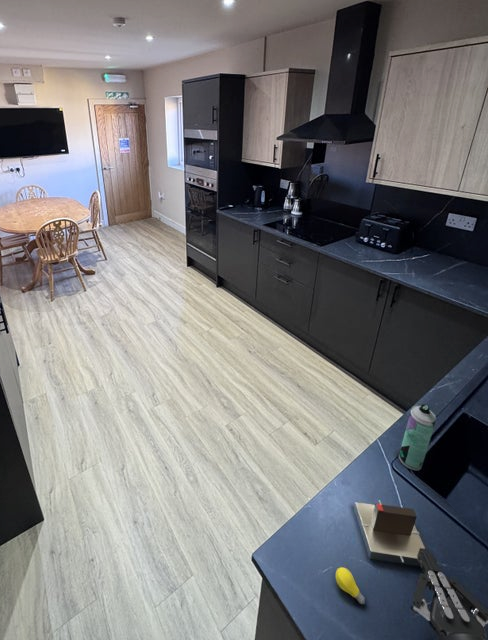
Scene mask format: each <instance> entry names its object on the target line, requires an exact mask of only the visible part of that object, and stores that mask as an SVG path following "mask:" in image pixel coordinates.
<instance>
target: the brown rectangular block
mask: <svg viewBox="0 0 488 640" xmlns="http://www.w3.org/2000/svg"><path fill="white" fill-rule="evenodd" d="M381 504H382V503H381ZM381 504H380V503H375V504H374V505H375V507H374V511H373V515H372V519H371V525H372V528H373V530H376V531H382V532H389V533H396V534H403V535H409V536H411V533H412V530H413V527H414V525H416V520H417V518H418V516H417V514H416V512H415V509H414V508H409V507H401V506H393V505H386V504H382V505H381Z"/></svg>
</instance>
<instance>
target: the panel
mask: <svg viewBox="0 0 488 640" xmlns="http://www.w3.org/2000/svg"><path fill="white" fill-rule="evenodd" d="M378 504H381V505H383V504H382V501H381V499H378ZM374 507H375V504H373V503H365V502H357V501H355V502H354V506H353V511H354V514H355V517H356V520H357V524H358V528H359V530H360V534H361V536H362V539H363V543H364V546H365V549H366V552H367V553H366V554H367V556H368V558H369V559H370V560H371V559H372V560H375V561H376V560H377V561H383V562H390V563H396V564H403V565H407V566H408V565H409V566H415V567H420V568H421V566H420V563H419V561H418V559H417V555H418V552H419V549H420V548H423V549H426V547H425V545H424V543H423V540H422V538H421V535H420V532H419V531H418V530H417V527H416V524H414V527H413V530H412V533H411V536H409V535H403V534H396V533H389V532H382V531H376V530H373V528H372V525H371V519H372V515H373V511H374Z"/></svg>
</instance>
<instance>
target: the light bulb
mask: <svg viewBox="0 0 488 640" xmlns="http://www.w3.org/2000/svg"><path fill="white" fill-rule="evenodd" d="M335 581H336V584H337V585H338V587H339V589H341V590H342V591H344V592H345V593H347V594H349V595H350V596H352V598H355V599H356V600H357V602H358V603H359V604H360V605H365V603H366V600H365V596H364V595H363V594H362V593H361V592H360V588H359V587H358V585H357V583H356V580H355V578H354V576H353V574H352V572H351V571H350V570H349V569H348V568H346V567H342V566H341V567H338V568H337V569H336V571H335Z"/></svg>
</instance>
